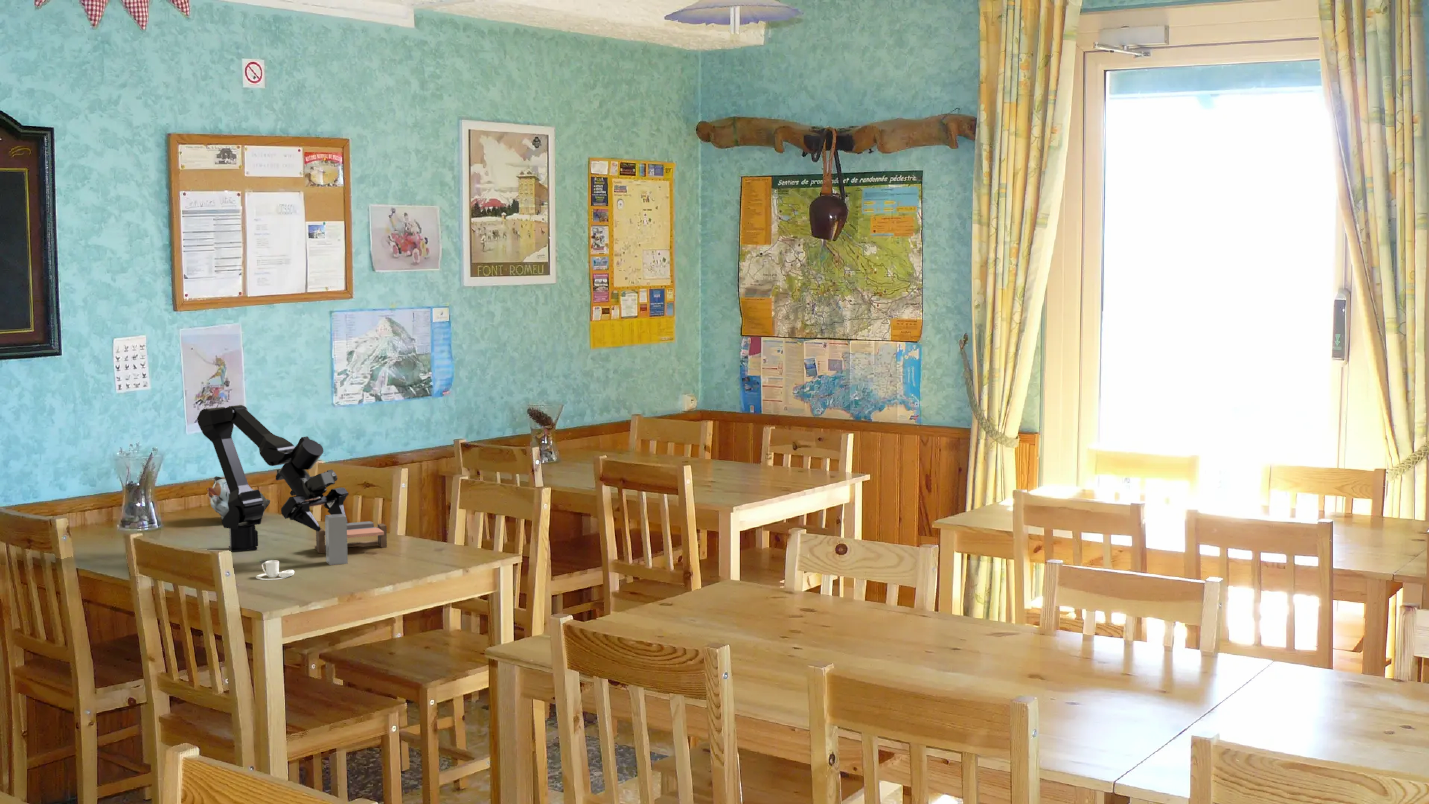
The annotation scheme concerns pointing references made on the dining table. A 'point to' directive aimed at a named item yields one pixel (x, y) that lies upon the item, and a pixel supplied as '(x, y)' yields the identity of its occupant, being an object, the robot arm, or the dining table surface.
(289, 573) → the teacup and saucer
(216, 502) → the lucky cat figurine
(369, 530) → the pink flat slab
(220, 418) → the robot arm
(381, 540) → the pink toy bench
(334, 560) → the stone block
